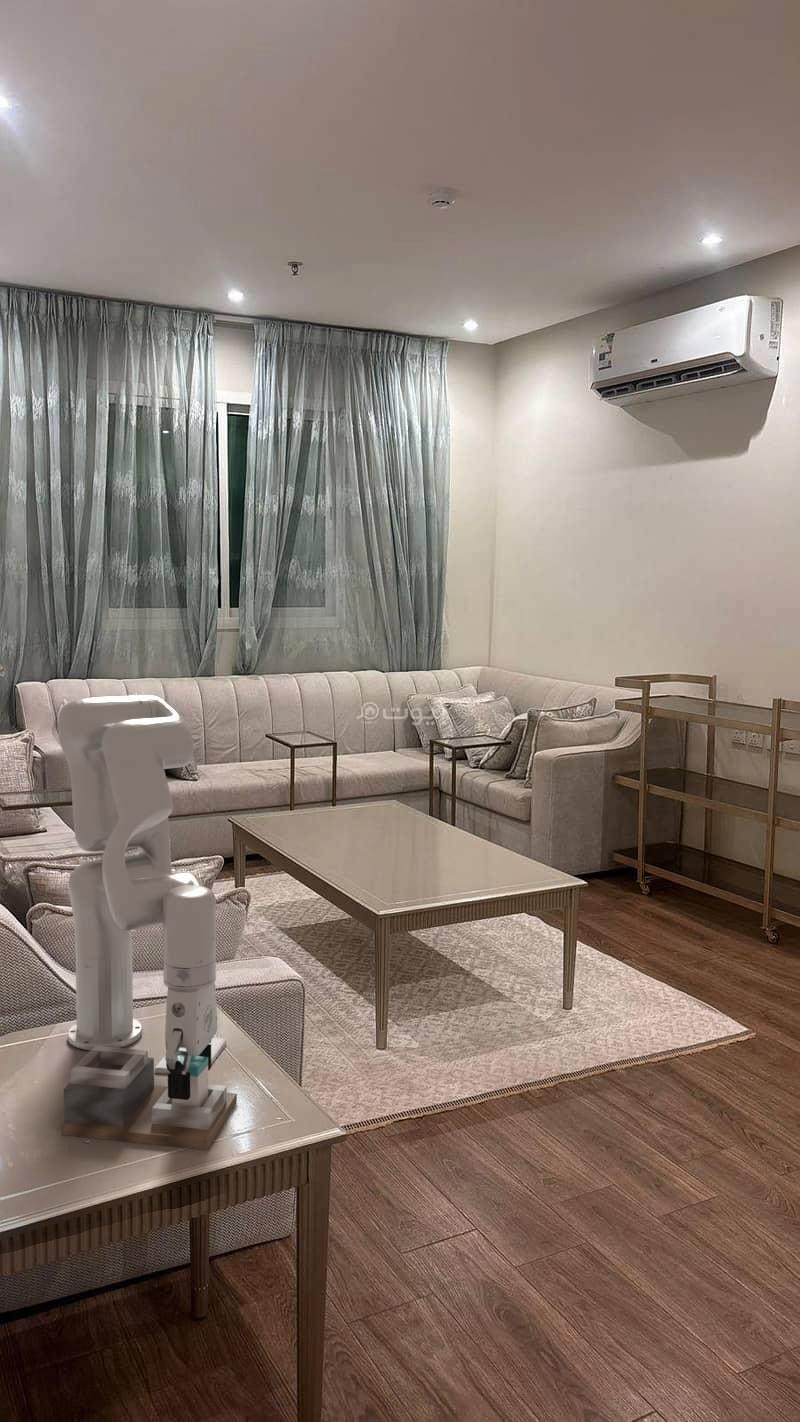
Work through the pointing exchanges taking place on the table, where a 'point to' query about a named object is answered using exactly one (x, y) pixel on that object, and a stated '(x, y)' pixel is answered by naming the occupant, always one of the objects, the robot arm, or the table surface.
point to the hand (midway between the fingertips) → (190, 1082)
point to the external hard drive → (216, 1048)
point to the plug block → (196, 1082)
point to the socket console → (137, 1103)
